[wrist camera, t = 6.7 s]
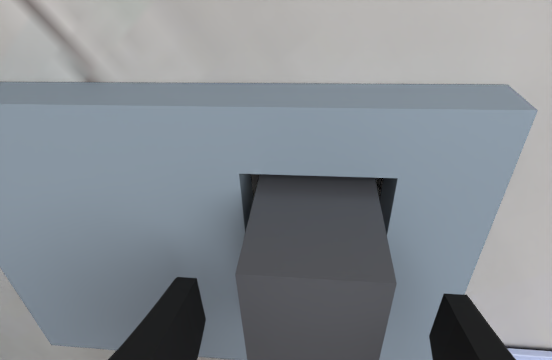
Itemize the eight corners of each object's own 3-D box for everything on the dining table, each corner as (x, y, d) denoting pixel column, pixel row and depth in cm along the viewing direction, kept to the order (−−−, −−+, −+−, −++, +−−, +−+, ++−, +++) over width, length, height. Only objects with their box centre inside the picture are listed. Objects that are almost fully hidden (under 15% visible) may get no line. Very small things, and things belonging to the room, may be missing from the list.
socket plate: (422, 338, 20) (431, 375, 18) (71, 313, 22) (51, 344, 20) (507, 84, 12) (537, 110, 10) (-58, 81, 14) (-109, 102, 12)
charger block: (360, 234, 16) (376, 370, 11) (269, 230, 17) (247, 359, 12) (370, 156, 14) (396, 283, 9) (265, 153, 14) (235, 274, 9)
